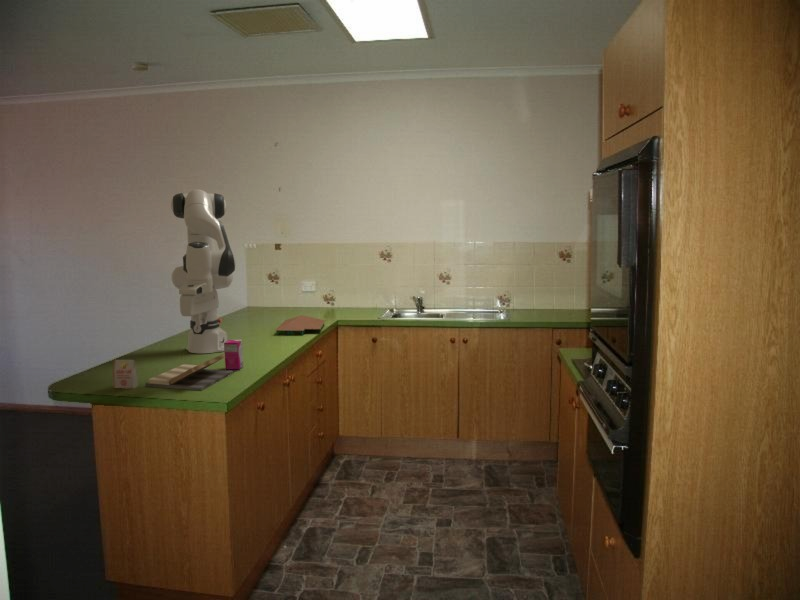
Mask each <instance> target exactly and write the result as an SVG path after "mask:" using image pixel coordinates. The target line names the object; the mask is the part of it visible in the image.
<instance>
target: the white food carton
mask: <svg viewBox="0 0 800 600" xmlns="http://www.w3.org/2000/svg"><path fill="white" fill-rule="evenodd" d="M112 379H113V380H112V382H113V383H112V384H113V389H114V388H125V389H124V390H131V389H132V390H133V389H135V388H137V387H138V386H139V385H138V384H139V382H138V381H139V379H138V369H137V366H136V362H135V359H114V360H113V369H112Z"/></svg>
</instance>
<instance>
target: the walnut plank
mask: <svg viewBox="0 0 800 600" xmlns="http://www.w3.org/2000/svg"><path fill="white" fill-rule="evenodd" d="M223 359H225V355H224V354H223V353H222V354H219V355H217V356H216V357H214V358H210V359H209V360H206V361H205V362H202V363H200V364H196V365H197V366H195V367H193V368H191V369H189V370H187V371H186V372H184V373H182V374H180V375H178V376H177V377H175V378H173V379H171V380H170V382H171V384H173V383H175V382H177V381H179V380H182V379H184V378H186V377H188V376H190V375H192V374H194V373H196V372H198V371H201V370H203V369H208V367H210V366H212V365H214V364H216V363H217V362H219V361H221V360H223Z"/></svg>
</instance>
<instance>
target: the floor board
mask: <svg viewBox="0 0 800 600" xmlns="http://www.w3.org/2000/svg"><path fill="white" fill-rule="evenodd" d="M197 365H198V364H186V363H183V364H181V365H179V366H176V367H174V368H172V369H169V370H167V371H165V372H162V373H160V374H158V375H156V376H153V377H151V378H148V382H146V383H145V387H148V388H149V387H150V388H151V387H152V388H160V389H161V388H163V389H175V390H179V389H180V390H186V391H187V390H190V391H200V392H201V391H203V390H205V389H207V388H209V387H211V386H213V385H215V384H217V383H218V382H221V381H222V380H224V379H226V378H228V377H229V376H228V375H230V374H231V375H233V374H234V370H226V369H225V370H223V369H211V368H205V369H203V370H201V371H198V372H196V373H194V374H192V375H190V376H188V377H186V378H184V379H182V380H179V381H177V382H175V383H173V384H171V382H170V380H171V379H173V378H175V377H177V376H178V375H180V374H182V373H184V372H186V371H187V370H189V369H191V368H193V367H195V366H197ZM232 373H233V374H232ZM231 375H230V376H231ZM227 376H228V377H227ZM225 377H226V378H225ZM223 378H224V379H223ZM216 382H217V383H216Z"/></svg>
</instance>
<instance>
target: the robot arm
mask: <svg viewBox="0 0 800 600" xmlns="http://www.w3.org/2000/svg"><path fill="white" fill-rule="evenodd" d="M170 202H171V203H170V208H171V212H172V214H173V215H174V216H175V217H176V218H179V219H184V224H185V226H186V229H187V231H186V232H187V245H186V253H185V254H184V255H183V256H182V264H183V265H182V266H177V267H175V268H174V269H173V271H172V273H171V281H172V284H173V286H174V287H175V288H176V289H178V293H179V295H180V297H179V310H180V314H181V316H182V317H190V323H189V325H190V326H189V327H190V331H188V337H187V338H188V339H187V340H188V343H187V346H186V347H185V350H187V351H188V352H189V353H190V354H191V353H192V354H212V353H222V352H225V351H224V343H225V342H226V341H228V340H229V339H228V338H229V337H228V333H227V332H226V331H225V330H224V329H222V327H220V324H222V322H223V321H222V318H218V316H217V313H218V312H217V311H218V308H219V306H220V302H219V293H218V291H217V290H220V289H225V288H229V287H230V285H231V284H232V282H233V279H234V278H233V273H234V272H235V271H236V266H237V265H236V263H237V262H236V258H235V256H234V254H233V253H234V252H233V251H232V249H231V246H230V243H229V239H228V235H227V232H226V229H225V226H224V225H223V222H222V221H221V220H219V219H221V218H223V217H224V216H225V213H226V211H227V201H226V200H225V197H224V196H223V194H221V193H208V192H206V191H205V190H203V189H196V188H195V189H193V190H190V191H189V192H187V193H183V192H181V193H179V192H178V193H176V194H173V197H172V198H171V201H170ZM215 241H216V242H217V247H218V249H217V250H216V245H215Z"/></svg>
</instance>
